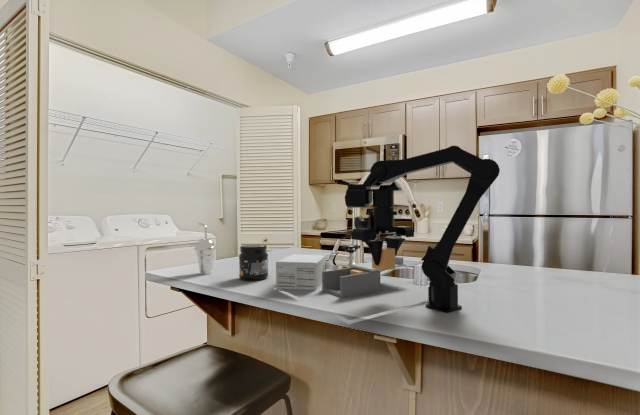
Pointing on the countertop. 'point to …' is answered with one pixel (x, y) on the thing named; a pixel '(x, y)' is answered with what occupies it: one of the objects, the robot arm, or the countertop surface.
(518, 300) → the countertop surface
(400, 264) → the lid
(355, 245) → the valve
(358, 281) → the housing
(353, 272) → the block
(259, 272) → the supplement container
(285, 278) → the supplement box
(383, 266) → the block
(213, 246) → the cup with straw
